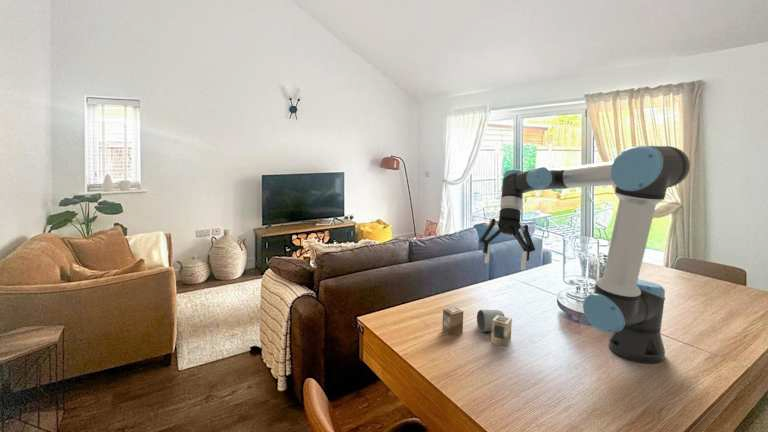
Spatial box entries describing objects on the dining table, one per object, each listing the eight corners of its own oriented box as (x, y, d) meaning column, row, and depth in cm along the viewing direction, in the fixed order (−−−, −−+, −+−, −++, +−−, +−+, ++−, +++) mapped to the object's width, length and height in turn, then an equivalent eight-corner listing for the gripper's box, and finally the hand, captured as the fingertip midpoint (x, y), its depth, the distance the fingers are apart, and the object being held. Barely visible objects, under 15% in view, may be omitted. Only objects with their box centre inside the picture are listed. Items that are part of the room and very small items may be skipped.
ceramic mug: (506, 333, 139) (507, 312, 138) (484, 335, 137) (485, 314, 136) (492, 321, 149) (493, 302, 148) (472, 323, 148) (472, 303, 147)
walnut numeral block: (462, 332, 140) (463, 310, 138) (451, 336, 137) (451, 313, 136) (453, 327, 144) (453, 306, 143) (441, 330, 141) (442, 308, 140)
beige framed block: (510, 340, 134) (511, 317, 132) (505, 347, 129) (507, 323, 128) (496, 337, 136) (497, 314, 135) (490, 343, 132) (491, 319, 131)
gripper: (538, 218, 153) (533, 273, 147) (474, 206, 152) (468, 261, 147) (547, 213, 145) (543, 271, 140) (481, 201, 145) (474, 258, 139)
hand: (504, 266), depth 143 cm, fingers open, 13 cm apart
